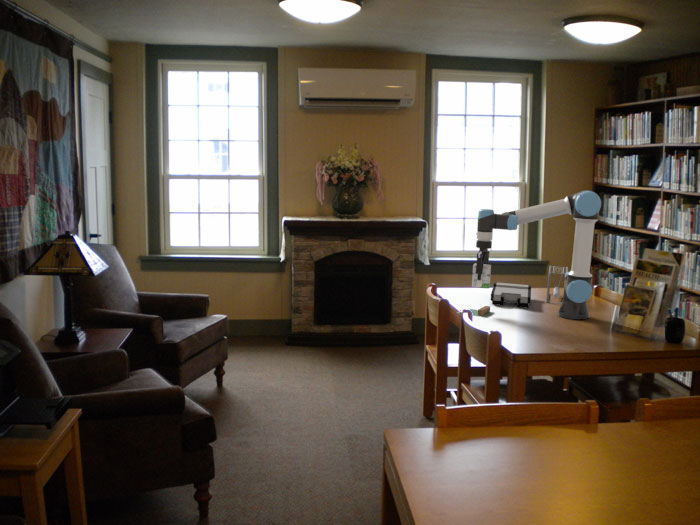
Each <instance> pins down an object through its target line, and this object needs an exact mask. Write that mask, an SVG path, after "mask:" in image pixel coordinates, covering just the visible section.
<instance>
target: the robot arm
mask: <svg viewBox="0 0 700 525" xmlns="http://www.w3.org/2000/svg"><path fill="white" fill-rule="evenodd" d="M601 207H602V200H601V198H600V196H599V195H598V193H596V192H594V191H592V190H580V191H579V192H576V193H573V194H570V195H566V196H565V198H561V199H558V200H554V201H550V202H545V203H541V204H537V205H532V206H528V207H525V208H520V209H516V210H512V211H507V212H502V213H501V214H499V213H495V211H494V209H490V208H481V209H479V210H478V217H477V227H476V228H477V231H476V234H475V235H476V239H477V240H476V245H475V248H477V249H479V250H478V252H477V253H476V272H475V273H476V274H477V284H476V286H478V287H482V279H483V274H482V271H483V265H484V264H488V265H490V264H489V262H490V261H489V259H490V254H491V253H490V251H489V249H491V248H492V240H493V230H504V231H505V230H506V231H507V230H508V231H516V230H517V229H518V226H519V225H523V224H527V223H533V222H536V221H540V220H545V219H549V218H554V217H558V216H562V215H567V214H569V215H570V216H571V215H572V217H573V220H574V221H575V227H574V228H575V230H574V239H573V248H572V250H573V251H572V259H571V268H570V270H569V271H568V272H566V271H565V273H566V274H564V285H563V294H562V295H563V296H562V301H561V303H560V304H561V305H560V307H559V309H558V312H557V314H558V315H559V317H560V316H561V318H563V317H564V318H563V319H567V318H570V319H569V320H574V319H586V320H588V319H587V318H589V319H590V312H589V307H588V303H587V302H588V300H589V299H590V298H591V297H592V295H593V288H592V285H593V284H592V282H593V275H592V273H591V272H590V270H591V262H592V250H593V240H594V234H595V232H594V231H595V224H596V222H598V221H599V216H600V211H601V210H600V209H601ZM558 315H557V316H558Z"/></svg>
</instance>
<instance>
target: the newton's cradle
mask: <svg viewBox="0 0 700 525" xmlns="http://www.w3.org/2000/svg"><path fill="white" fill-rule="evenodd" d="M556 268H557V266H554V265H553V266H552V265H549V268H548V277H547V286H546V287H547V289H546V300H545V301H546V303H547V304H548V303H549V302H550V300H549V298H550V296H553V297H554V298H555V299H558V298H560V296H561V288H560V285H561V282H562V278H563V275H565V274H566V272H569V266H566V267H565V266H559V270H560V271H561V272H557V274H559V275H560V277H559V280H558V284H557V278H556V277H557V276H556ZM552 274H553V276H554V284H555V287H554V288H553V293H550V288H551V276H552ZM550 294H551V295H550ZM551 303H552V304H553V303H554V304H560V302H559V301H557V302H556V301H551Z"/></svg>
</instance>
